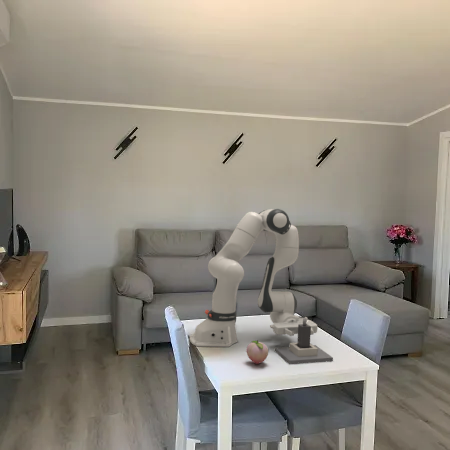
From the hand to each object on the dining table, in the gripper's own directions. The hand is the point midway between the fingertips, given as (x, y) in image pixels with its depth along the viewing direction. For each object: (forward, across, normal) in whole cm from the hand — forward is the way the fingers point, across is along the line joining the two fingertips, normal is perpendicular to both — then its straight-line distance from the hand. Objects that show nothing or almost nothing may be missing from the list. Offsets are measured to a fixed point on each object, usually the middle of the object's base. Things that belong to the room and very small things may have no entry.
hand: (302, 333), depth 203 cm
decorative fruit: (+7, -23, +10) cm, 26 cm away
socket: (+2, 0, +10) cm, 10 cm away
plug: (+2, 0, +8) cm, 8 cm away
